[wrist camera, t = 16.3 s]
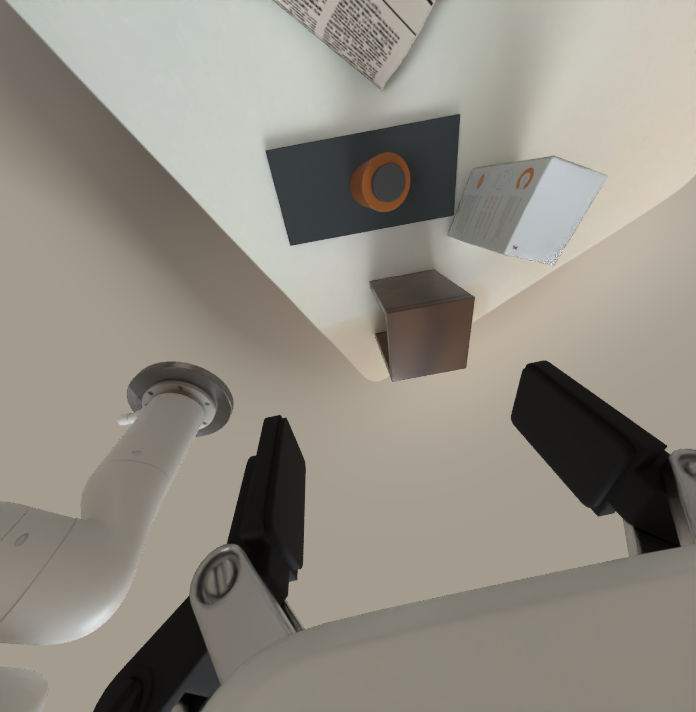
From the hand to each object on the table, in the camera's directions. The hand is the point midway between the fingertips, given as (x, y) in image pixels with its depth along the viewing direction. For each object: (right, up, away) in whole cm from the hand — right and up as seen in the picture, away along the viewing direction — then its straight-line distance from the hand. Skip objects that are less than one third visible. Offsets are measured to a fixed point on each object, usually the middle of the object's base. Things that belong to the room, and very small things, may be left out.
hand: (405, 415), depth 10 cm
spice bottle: (0, +23, +21) cm, 31 cm away
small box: (+15, +22, +25) cm, 37 cm away
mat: (0, +24, +22) cm, 32 cm away
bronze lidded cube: (+7, +10, +31) cm, 34 cm away
